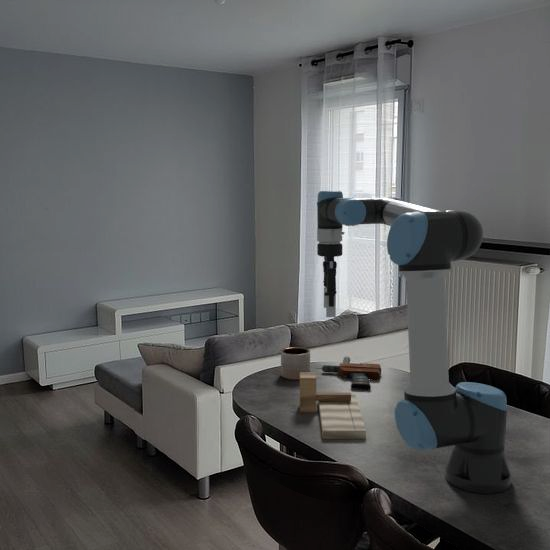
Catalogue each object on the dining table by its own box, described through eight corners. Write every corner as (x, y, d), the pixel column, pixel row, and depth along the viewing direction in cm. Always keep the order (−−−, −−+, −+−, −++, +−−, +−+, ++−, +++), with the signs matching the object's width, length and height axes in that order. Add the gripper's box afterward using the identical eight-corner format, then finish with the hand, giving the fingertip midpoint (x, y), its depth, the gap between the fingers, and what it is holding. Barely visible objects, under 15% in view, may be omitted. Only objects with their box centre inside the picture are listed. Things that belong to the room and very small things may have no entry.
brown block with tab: (351, 412, 201) (351, 378, 199) (300, 412, 201) (300, 378, 199) (349, 405, 207) (350, 372, 205) (299, 405, 207) (299, 372, 205)
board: (365, 439, 180) (366, 430, 180) (322, 438, 180) (322, 430, 180) (355, 402, 210) (355, 394, 209) (318, 402, 210) (318, 394, 209)
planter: (278, 379, 233) (278, 354, 232) (283, 371, 244) (283, 346, 242) (308, 381, 232) (308, 355, 230) (311, 372, 242) (311, 347, 241)
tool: (379, 383, 220) (382, 355, 249) (301, 379, 225) (312, 352, 254) (379, 394, 221) (382, 365, 249) (301, 390, 226) (312, 362, 254)
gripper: (346, 246, 181) (345, 321, 184) (339, 238, 205) (338, 304, 208) (319, 247, 181) (319, 321, 184) (315, 238, 205) (315, 304, 209)
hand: (329, 312), depth 196 cm, fingers open, 13 cm apart
